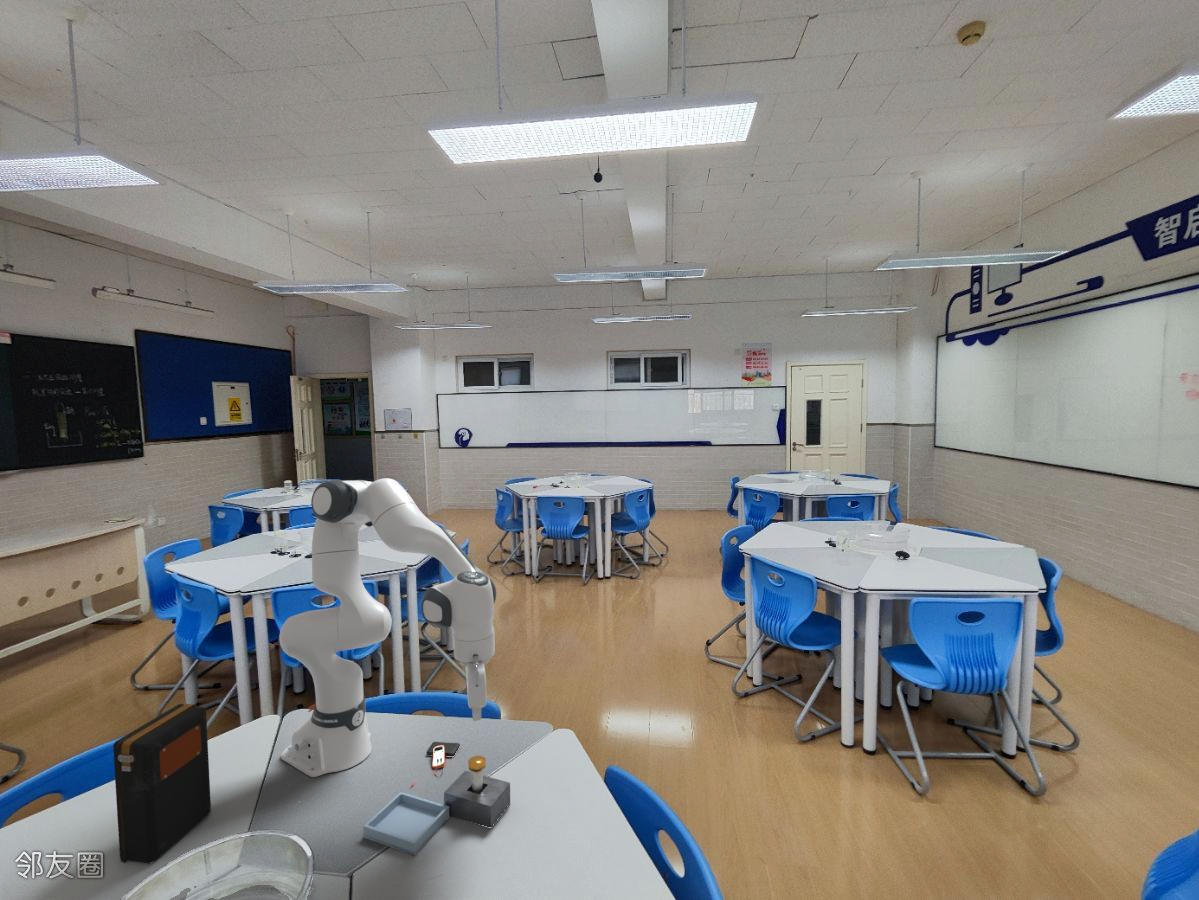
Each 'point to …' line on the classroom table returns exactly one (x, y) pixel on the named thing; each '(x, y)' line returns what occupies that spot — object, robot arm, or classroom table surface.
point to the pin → (477, 772)
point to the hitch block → (477, 799)
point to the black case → (161, 782)
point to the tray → (406, 823)
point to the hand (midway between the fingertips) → (475, 708)
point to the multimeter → (441, 753)
